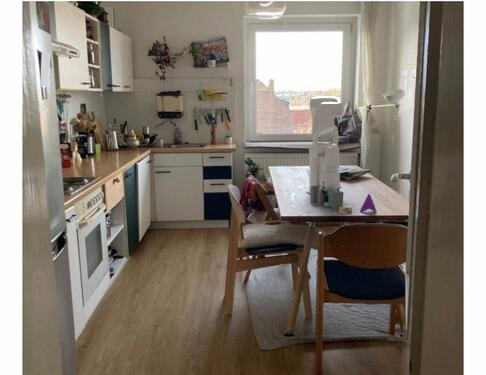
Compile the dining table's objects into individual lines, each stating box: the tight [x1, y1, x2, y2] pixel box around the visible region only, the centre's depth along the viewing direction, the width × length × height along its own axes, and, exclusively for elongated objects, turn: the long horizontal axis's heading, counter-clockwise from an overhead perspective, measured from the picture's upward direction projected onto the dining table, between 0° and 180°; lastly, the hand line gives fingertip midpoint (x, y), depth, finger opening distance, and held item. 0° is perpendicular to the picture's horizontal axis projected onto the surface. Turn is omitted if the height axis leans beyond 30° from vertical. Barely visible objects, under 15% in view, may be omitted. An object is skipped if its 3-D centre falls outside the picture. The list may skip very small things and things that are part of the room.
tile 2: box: [316, 187, 325, 206], centre depth 248 cm, size 3×5×10 cm, turn 118°
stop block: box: [338, 205, 353, 215], centre depth 232 cm, size 6×3×3 cm, turn 118°
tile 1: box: [309, 185, 321, 204], centre depth 253 cm, size 3×5×10 cm, turn 118°
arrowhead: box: [359, 193, 378, 213], centre depth 233 cm, size 10×2×10 cm
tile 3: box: [331, 190, 344, 212], centre depth 236 cm, size 3×5×10 cm, turn 118°
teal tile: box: [324, 189, 336, 208], centre depth 242 cm, size 3×5×10 cm, turn 118°
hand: (329, 201), depth 242 cm, fingers closed on teal tile, 4 cm apart
